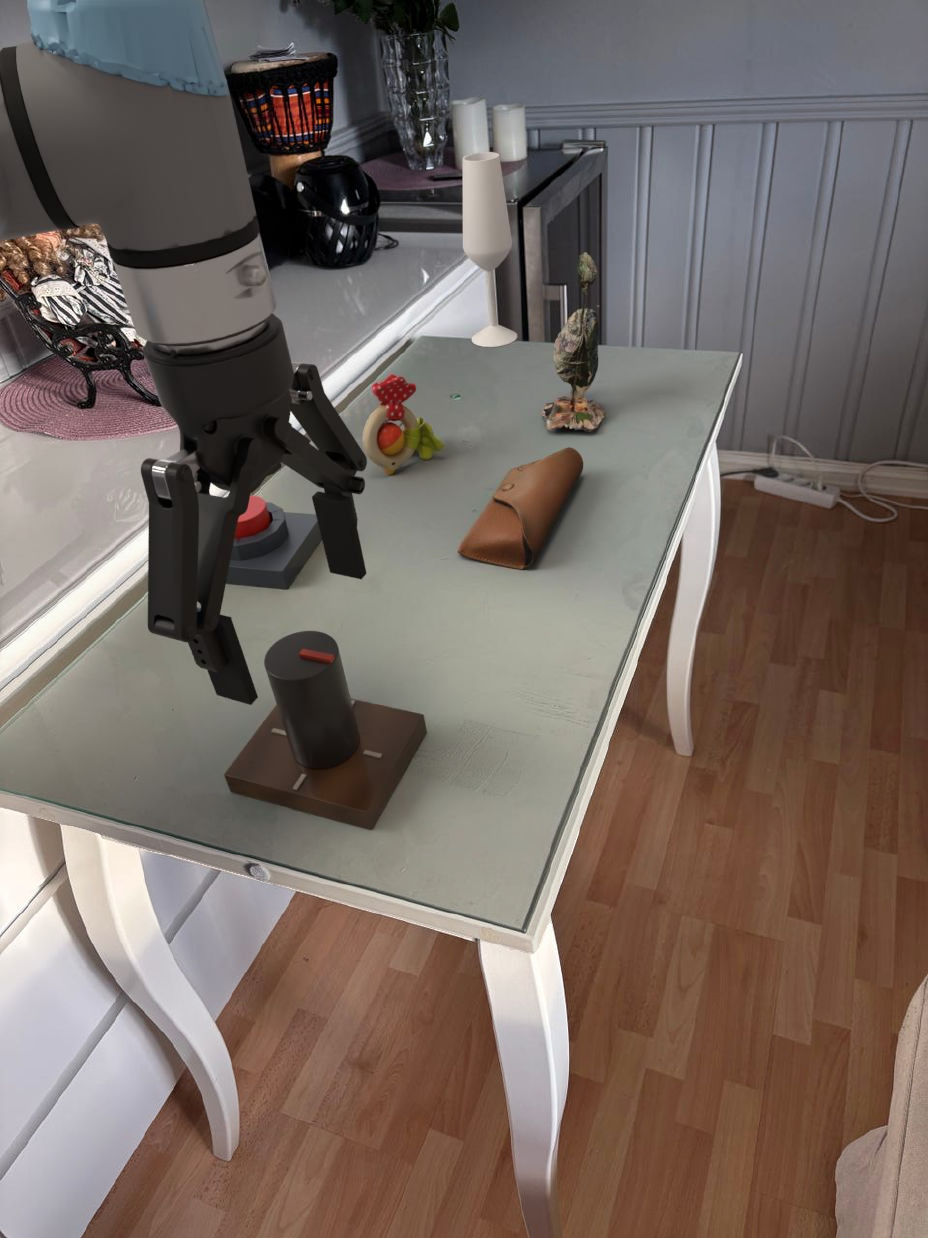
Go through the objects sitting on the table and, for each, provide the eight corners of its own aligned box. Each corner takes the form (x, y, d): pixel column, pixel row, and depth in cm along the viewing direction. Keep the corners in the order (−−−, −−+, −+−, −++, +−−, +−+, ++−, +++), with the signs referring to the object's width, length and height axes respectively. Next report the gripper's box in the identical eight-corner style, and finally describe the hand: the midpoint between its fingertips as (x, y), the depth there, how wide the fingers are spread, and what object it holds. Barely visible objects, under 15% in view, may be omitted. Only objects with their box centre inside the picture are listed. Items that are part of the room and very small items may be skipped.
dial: (278, 760, 68) (248, 668, 62) (312, 712, 72) (286, 621, 66) (340, 776, 66) (314, 682, 60) (371, 726, 70) (350, 633, 64)
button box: (179, 579, 91) (167, 546, 89) (224, 524, 99) (215, 492, 96) (287, 589, 88) (278, 555, 86) (326, 532, 96) (319, 499, 93)
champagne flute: (464, 345, 130) (447, 163, 115) (480, 327, 135) (465, 150, 120) (509, 348, 128) (497, 162, 113) (523, 329, 133) (513, 149, 118)
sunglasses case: (509, 464, 102) (536, 420, 97) (563, 497, 102) (592, 455, 97) (452, 556, 89) (480, 510, 84) (513, 593, 89) (544, 550, 85)
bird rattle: (412, 496, 103) (459, 438, 105) (368, 431, 95) (420, 369, 97) (375, 481, 107) (422, 425, 109) (330, 416, 98) (381, 357, 100)
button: (212, 537, 90) (206, 520, 89) (234, 510, 94) (229, 493, 92) (257, 541, 89) (252, 524, 87) (278, 513, 92) (274, 496, 91)
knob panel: (230, 792, 69) (222, 773, 67) (295, 702, 76) (290, 683, 74) (371, 830, 65) (366, 811, 63) (427, 732, 72) (423, 712, 70)
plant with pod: (619, 397, 113) (621, 229, 101) (594, 440, 105) (593, 264, 93) (556, 392, 116) (551, 228, 103) (527, 433, 108) (518, 262, 96)
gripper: (99, 446, 39) (230, 777, 52) (384, 251, 55) (428, 539, 69) (-22, 425, 42) (131, 743, 55) (284, 246, 58) (344, 523, 72)
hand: (297, 630), depth 62 cm, fingers open, 13 cm apart
